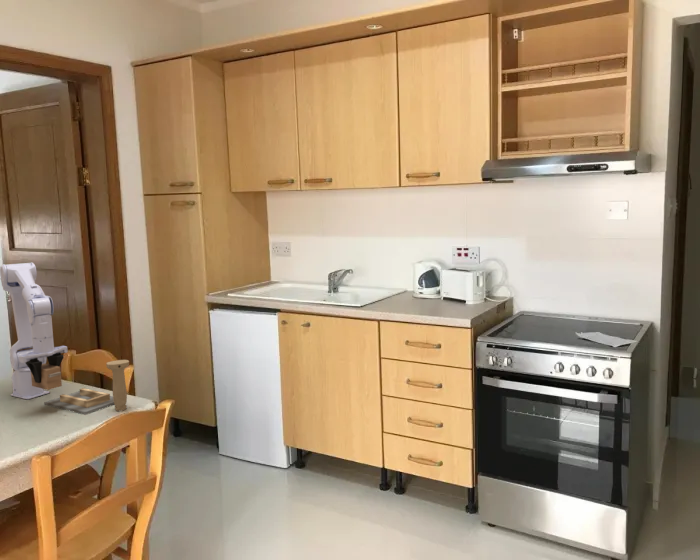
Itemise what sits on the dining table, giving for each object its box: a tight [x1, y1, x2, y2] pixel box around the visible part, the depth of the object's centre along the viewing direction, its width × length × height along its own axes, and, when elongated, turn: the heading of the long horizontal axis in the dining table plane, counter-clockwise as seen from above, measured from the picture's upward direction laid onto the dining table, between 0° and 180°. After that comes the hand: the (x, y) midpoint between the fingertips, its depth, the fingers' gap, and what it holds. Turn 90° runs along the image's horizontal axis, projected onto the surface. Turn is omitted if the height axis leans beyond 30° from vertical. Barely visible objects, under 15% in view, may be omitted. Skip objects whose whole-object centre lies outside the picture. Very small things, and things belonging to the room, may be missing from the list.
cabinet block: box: [31, 363, 63, 391], centre depth 188 cm, size 9×5×6 cm, turn 59°
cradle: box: [44, 387, 114, 415], centre depth 196 cm, size 20×14×3 cm
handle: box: [106, 359, 130, 412], centre depth 188 cm, size 5×6×15 cm
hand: (46, 380), depth 188 cm, fingers closed on cabinet block, 5 cm apart
